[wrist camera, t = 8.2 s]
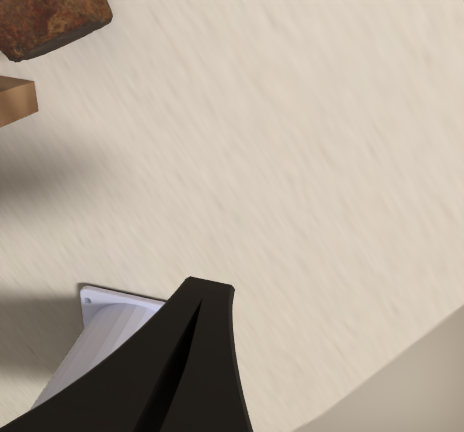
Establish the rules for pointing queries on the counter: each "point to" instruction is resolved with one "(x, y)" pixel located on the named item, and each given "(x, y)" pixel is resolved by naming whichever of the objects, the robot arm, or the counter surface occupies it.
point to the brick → (47, 24)
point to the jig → (16, 99)
